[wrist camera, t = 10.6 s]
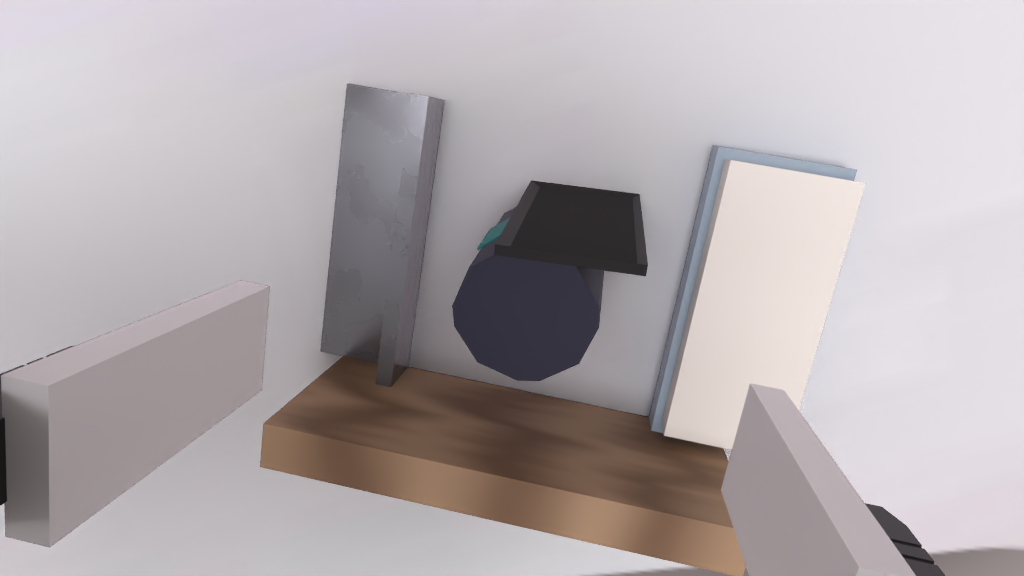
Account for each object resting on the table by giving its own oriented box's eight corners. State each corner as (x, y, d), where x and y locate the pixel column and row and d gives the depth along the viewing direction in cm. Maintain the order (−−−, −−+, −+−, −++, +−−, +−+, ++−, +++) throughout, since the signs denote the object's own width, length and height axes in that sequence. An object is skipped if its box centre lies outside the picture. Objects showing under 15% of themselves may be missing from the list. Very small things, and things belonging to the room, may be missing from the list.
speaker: (536, 140, 32) (505, 177, 22) (642, 195, 32) (657, 257, 22) (471, 272, 34) (417, 357, 25) (569, 322, 35) (554, 426, 25)
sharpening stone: (649, 417, 34) (653, 443, 31) (713, 145, 31) (724, 146, 28) (766, 441, 34) (781, 470, 31) (844, 167, 30) (869, 171, 27)
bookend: (323, 349, 36) (298, 367, 33) (350, 84, 33) (325, 79, 30) (408, 366, 35) (391, 387, 33) (444, 100, 32) (428, 96, 29)
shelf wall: (342, 387, 36) (260, 466, 28) (346, 353, 36) (263, 423, 27) (707, 466, 34) (742, 577, 26) (716, 431, 34) (755, 533, 25)
